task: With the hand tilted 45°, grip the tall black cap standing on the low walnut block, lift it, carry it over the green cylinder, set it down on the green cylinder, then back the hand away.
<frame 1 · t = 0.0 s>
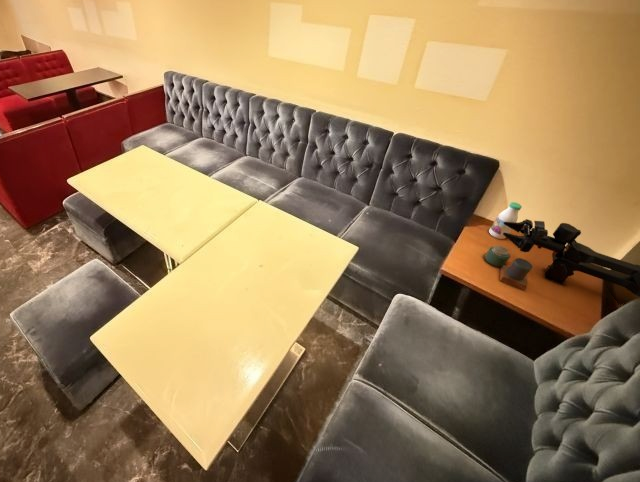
hand: (503, 227, 145), 17 cm above the table, tool horizontal, fingers open, 9 cm apart
walnut block: (511, 279, 141), on the table
milk bottle: (497, 234, 165), on the table
cap: (514, 274, 139), point 3 cm above the table, touching walnut block
green cylinder: (493, 261, 150), on the table
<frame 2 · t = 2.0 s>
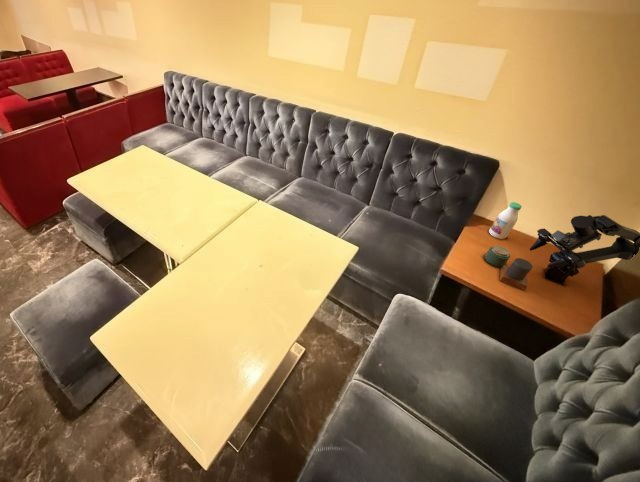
hand: (538, 257, 134), 14 cm above the table, tool tilted 45°, fingers open, 9 cm apart
nothing on the table moved.
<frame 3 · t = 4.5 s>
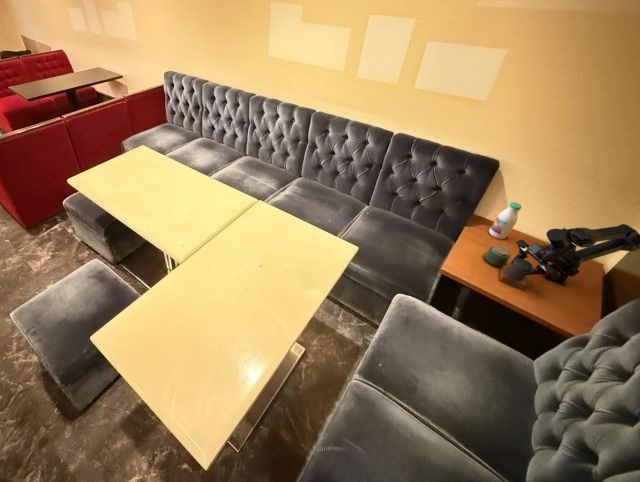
hand: (516, 268, 137), 7 cm above the table, tool tilted 45°, fingers closed on cap, 6 cm apart
cap: (514, 274, 139), point 3 cm above the table, touching gripper, walnut block
everything else where it was.
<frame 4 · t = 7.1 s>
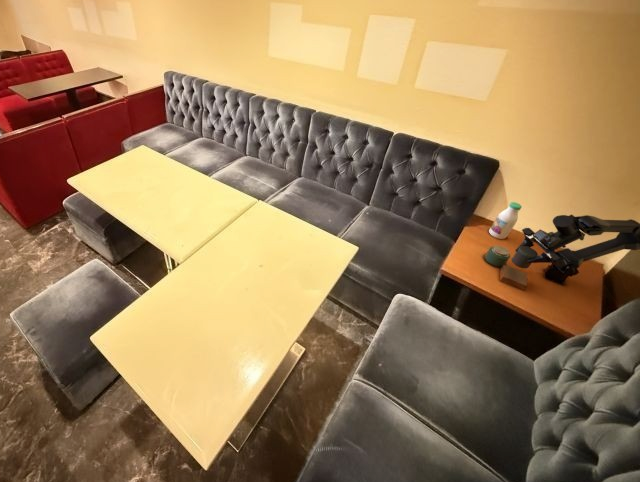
hand: (521, 256, 134), 14 cm above the table, tool tilted 45°, fingers closed on cap, 6 cm apart
cap: (519, 263, 137), point 9 cm above the table, touching gripper
everything else where it was.
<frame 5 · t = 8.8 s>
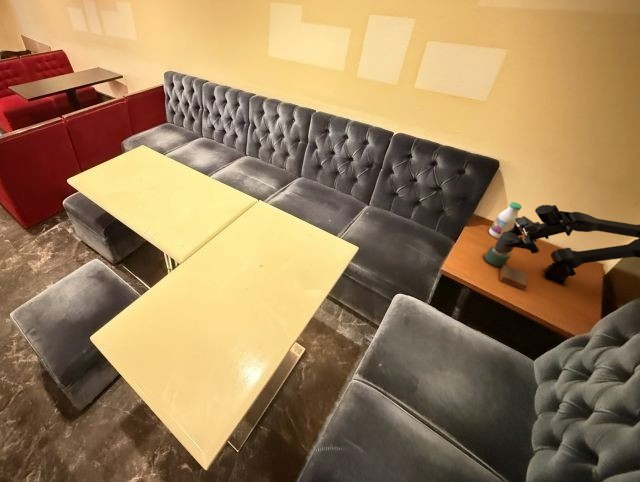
hand: (503, 240, 143), 13 cm above the table, tool tilted 45°, fingers closed on cap, 6 cm apart
cap: (503, 247, 145), point 9 cm above the table, touching gripper
everything else where it was.
when the fingers open (12 cm above the table, at t = 9.9 s): cap stays where it is, resting on green cylinder.
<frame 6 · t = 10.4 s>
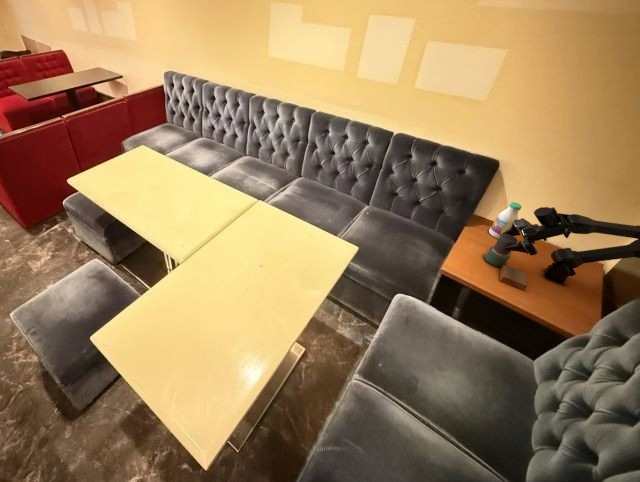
hand: (502, 242, 144), 12 cm above the table, tool tilted 45°, fingers open, 9 cm apart
cap: (501, 250, 146), point 7 cm above the table, touching green cylinder
everything else where it was.
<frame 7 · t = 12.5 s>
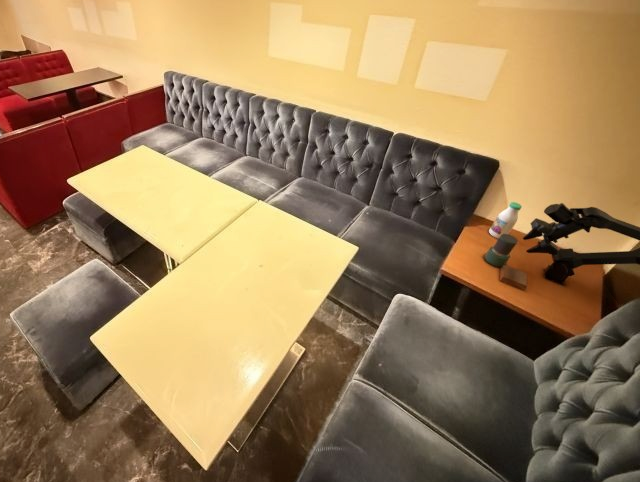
hand: (525, 245, 142), 12 cm above the table, tool tilted 30°, fingers open, 9 cm apart
nothing on the table moved.
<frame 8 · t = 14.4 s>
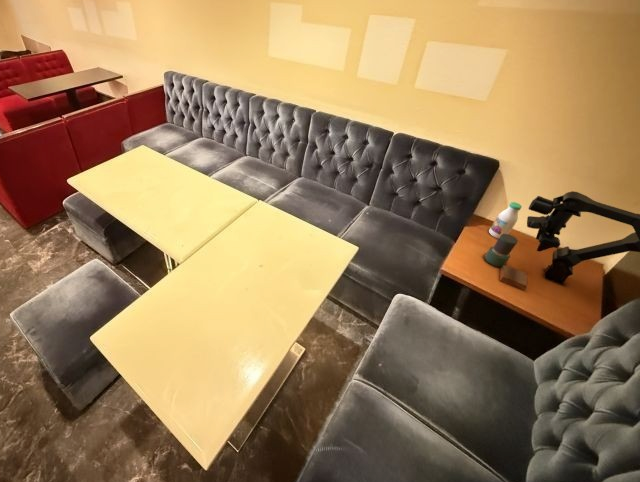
hand: (537, 245, 141), 13 cm above the table, tool pointing down, fingers open, 9 cm apart
nothing on the table moved.
at the end: cap 0.0 cm off-centre on the green cylinder, point 7.5 cm above the green cylinder's base; cap tilted 0°; the gripper is holding nothing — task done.
